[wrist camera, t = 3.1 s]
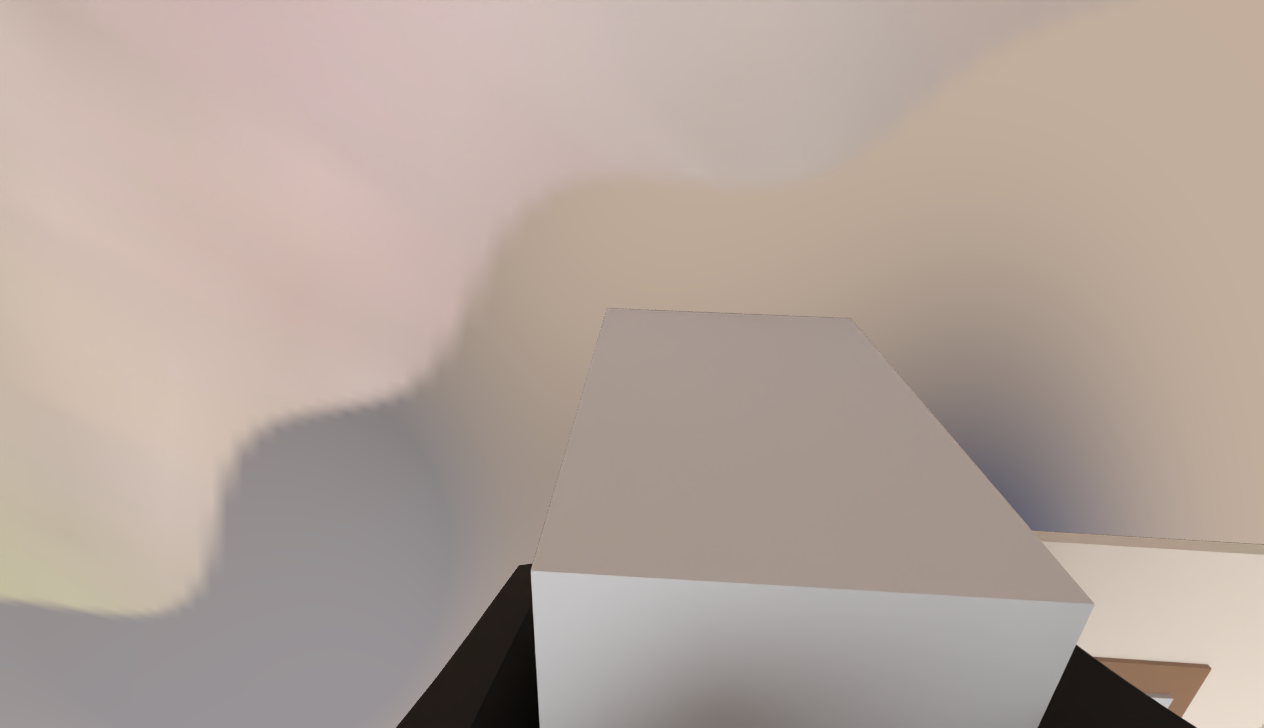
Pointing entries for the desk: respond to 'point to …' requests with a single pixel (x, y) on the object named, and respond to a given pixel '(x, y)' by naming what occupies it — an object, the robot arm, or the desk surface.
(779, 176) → the desk surface
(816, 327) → the brick
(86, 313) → the desk surface
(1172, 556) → the cream rectangular panel
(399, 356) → the desk surface
